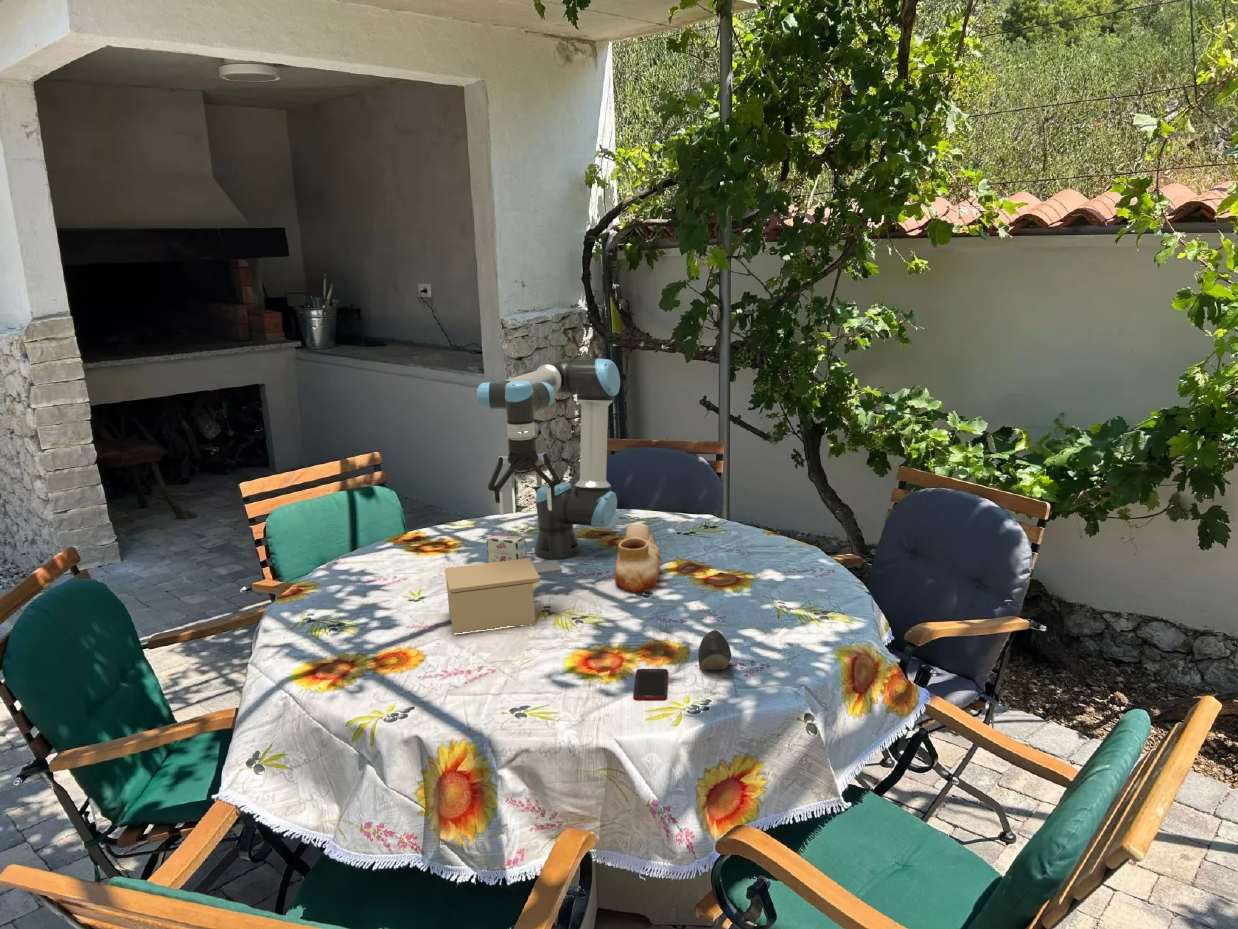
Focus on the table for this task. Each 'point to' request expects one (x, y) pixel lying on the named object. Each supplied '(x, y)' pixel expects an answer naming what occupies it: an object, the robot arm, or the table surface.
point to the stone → (714, 652)
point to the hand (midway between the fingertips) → (525, 511)
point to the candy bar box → (505, 548)
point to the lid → (498, 574)
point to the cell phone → (650, 685)
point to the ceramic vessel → (637, 560)
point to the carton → (491, 607)
